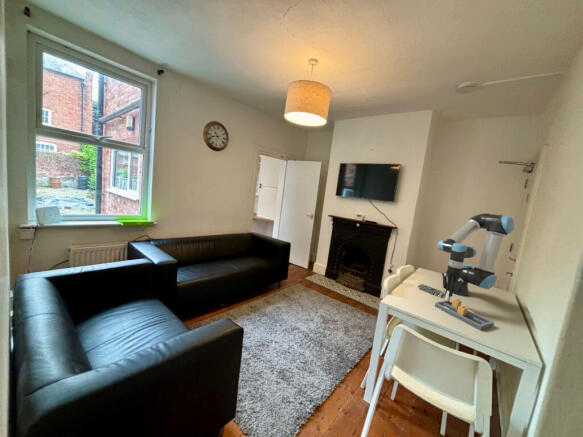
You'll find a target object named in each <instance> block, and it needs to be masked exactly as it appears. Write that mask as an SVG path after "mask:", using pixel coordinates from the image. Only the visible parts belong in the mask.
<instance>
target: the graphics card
mask: <svg viewBox="0 0 583 437" xmlns="http://www.w3.org/2000/svg"><path fill="white" fill-rule="evenodd" d="M417 287H418V288H419V289H421V291H423V292H426V293H428V294H429V295H431V296H434V295H435V297H437V296H438V295H439V296H438V297H437V298H441V296H442V297H443V295H444V296H445V292H446V290H440V289H438V288H437V289H436V288H435V287H431V286H430V285H429V286H428V285H425V284H423V283H421V284H418V285H417ZM433 294H434V295H433Z"/></svg>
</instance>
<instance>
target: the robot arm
mask: <svg viewBox="0 0 583 437" xmlns="http://www.w3.org/2000/svg"><path fill="white" fill-rule="evenodd" d="M480 229H482V230H483V229H484V230H486V231H485V232H486V233H487V235H486V239H485V242H484V245H483V249H482V252H481V254H480V257H479V260H478V264H477V265H474V267H473V265H472V264H468V263H464V261H465V259H472V258H474V257H476V256H477V249H476V248H474V247H472V246H467V245H466V244H464V243H463V242H464V241H465V240H466V239H467V238H468V237H470V235H472V234H473V233H475V231H479V230H480ZM514 229H515V221H514V219H513V217H511V216H507V215H503V214H493V213H479V214H476V215H474V216H471V217H470V218H469V219H467V220H466V221H465V224H463V225H462V226H461V227H460V228H458V229H457V231H455V232H454V233H453V234H452V235H451V236H449V237H448V238H447V239H446V240H439V241H438V242H437V246H436V247H437V249H438V250H439V251H441V252H443V253H449V254H450V255H449V259H448V265H447V268H446V272H443V273H441V276H442V289H445V294H444V296H445V299H444V301H445V300H446V301H451V298H452V297H453V294H454V295H458V296H462V297H469V293H470V292H469V291H470V290H469V284H471V285H474V286H476V287H478V288H481V289H485V290H490V289H492V288H493V287H494V286H495V285H496V282H497V280H498V277H497V275H496V271H495V270H494V267H495V264H496V261H497V258H498V255H499V252H500V249H501V247H502V243H503V240H504V238H505V237H507V236H508V235H509V234H512V232H513V231H514Z"/></svg>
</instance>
